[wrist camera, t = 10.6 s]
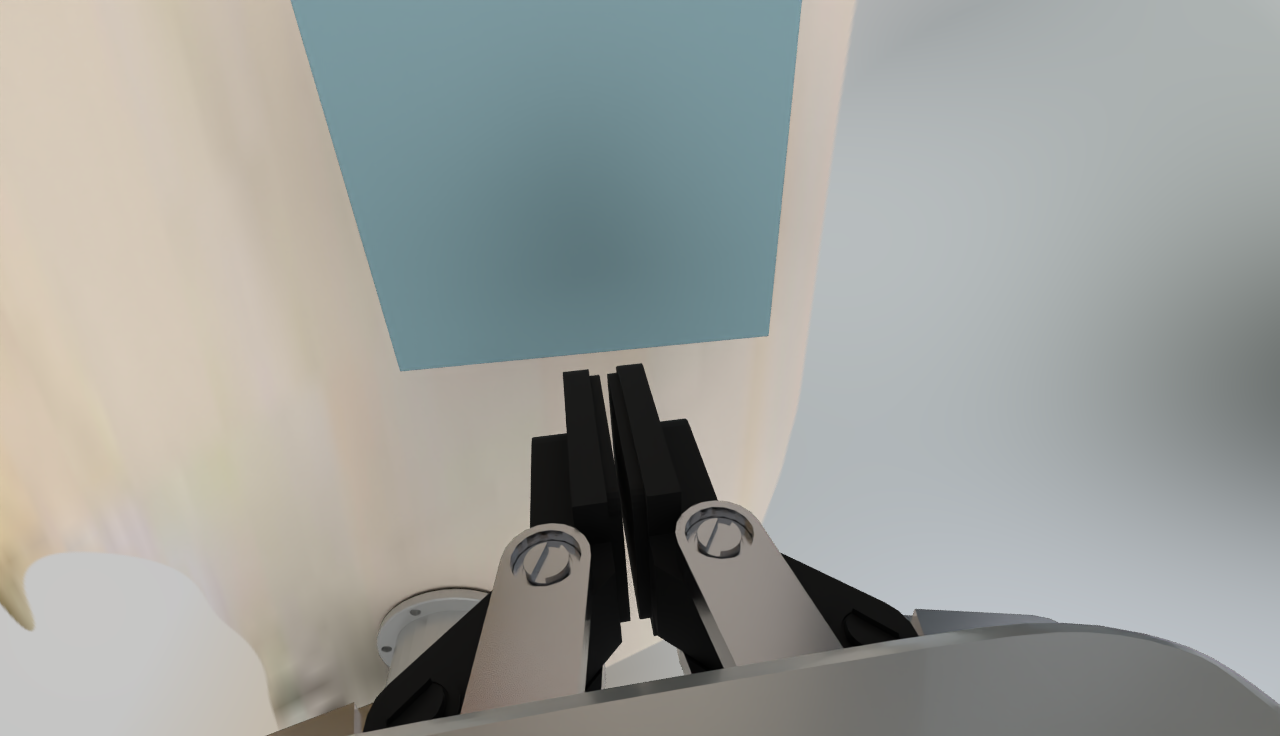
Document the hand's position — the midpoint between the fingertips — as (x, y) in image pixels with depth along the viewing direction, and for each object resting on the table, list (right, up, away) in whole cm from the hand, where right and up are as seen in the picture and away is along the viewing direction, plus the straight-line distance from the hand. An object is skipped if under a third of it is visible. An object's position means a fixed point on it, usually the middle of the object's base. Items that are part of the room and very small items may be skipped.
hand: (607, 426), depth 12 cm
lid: (-2, +9, +13) cm, 16 cm away
